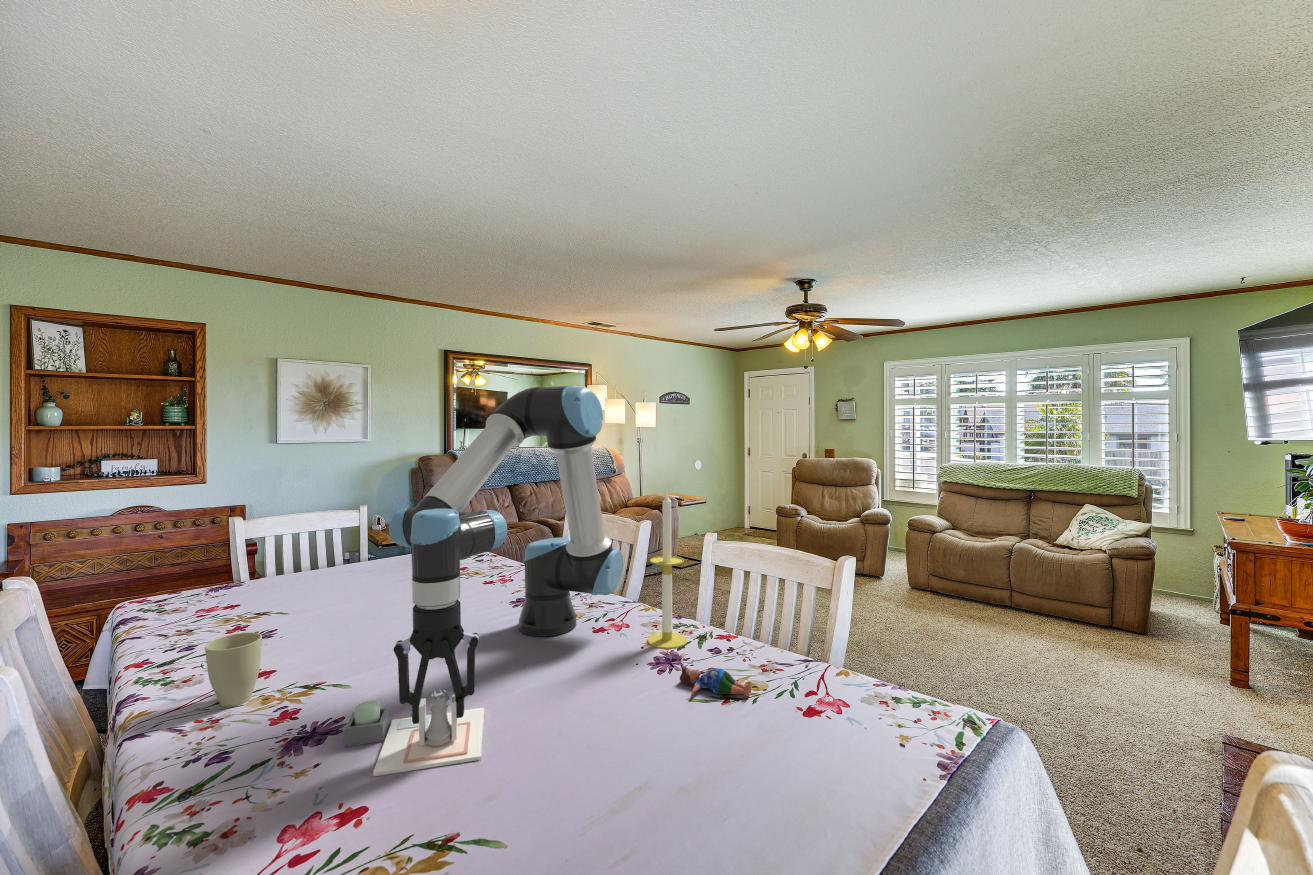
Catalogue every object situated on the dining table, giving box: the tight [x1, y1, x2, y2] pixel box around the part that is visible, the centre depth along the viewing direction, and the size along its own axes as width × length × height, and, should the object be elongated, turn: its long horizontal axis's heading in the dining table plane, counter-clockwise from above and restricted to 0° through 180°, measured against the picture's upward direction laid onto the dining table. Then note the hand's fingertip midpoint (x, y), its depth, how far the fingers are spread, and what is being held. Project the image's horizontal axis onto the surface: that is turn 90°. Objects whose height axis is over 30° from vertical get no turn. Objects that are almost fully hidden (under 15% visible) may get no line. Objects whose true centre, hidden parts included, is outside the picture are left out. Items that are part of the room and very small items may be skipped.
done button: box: [353, 700, 381, 726], centre depth 99 cm, size 4×4×4 cm
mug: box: [204, 631, 263, 708], centre depth 112 cm, size 11×10×12 cm
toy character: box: [679, 666, 752, 697], centre depth 116 cm, size 12×5×15 cm
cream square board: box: [372, 707, 485, 777], centre depth 97 cm, size 16×16×1 cm
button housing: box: [343, 706, 391, 747], centre depth 99 cm, size 6×6×3 cm
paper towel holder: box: [646, 492, 688, 650], centre depth 140 cm, size 10×10×38 cm
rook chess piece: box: [425, 689, 452, 746], centre depth 95 cm, size 4×4×8 cm
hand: (439, 737), depth 96 cm, fingers closed on rook chess piece, 4 cm apart
